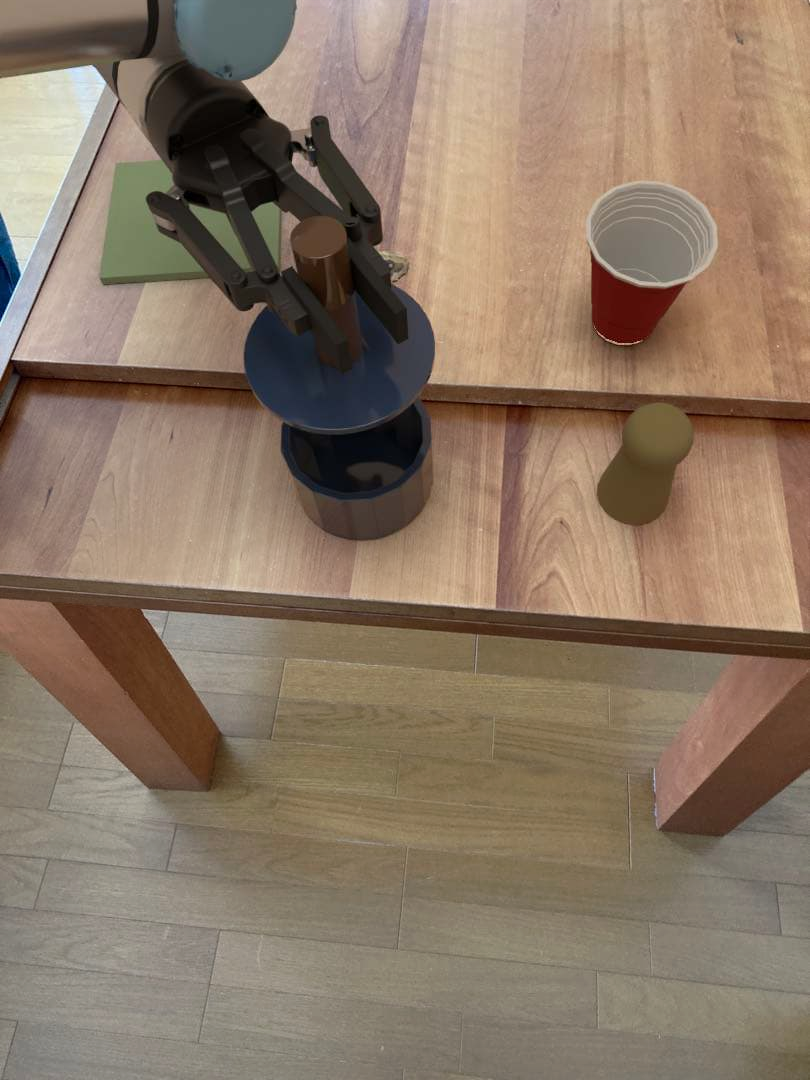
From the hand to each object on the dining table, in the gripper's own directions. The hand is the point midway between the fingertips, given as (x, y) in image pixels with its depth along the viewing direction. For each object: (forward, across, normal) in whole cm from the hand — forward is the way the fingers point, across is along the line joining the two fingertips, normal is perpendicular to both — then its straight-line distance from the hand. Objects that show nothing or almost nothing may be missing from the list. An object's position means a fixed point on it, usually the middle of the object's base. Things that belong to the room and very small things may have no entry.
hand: (373, 341), depth 47 cm
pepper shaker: (+9, -18, -25) cm, 32 cm away
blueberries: (-26, -13, -25) cm, 38 cm away
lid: (-5, 0, -7) cm, 9 cm away
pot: (-5, 0, -25) cm, 25 cm away
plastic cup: (-6, -29, -25) cm, 39 cm away
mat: (-42, -1, -25) cm, 48 cm away
